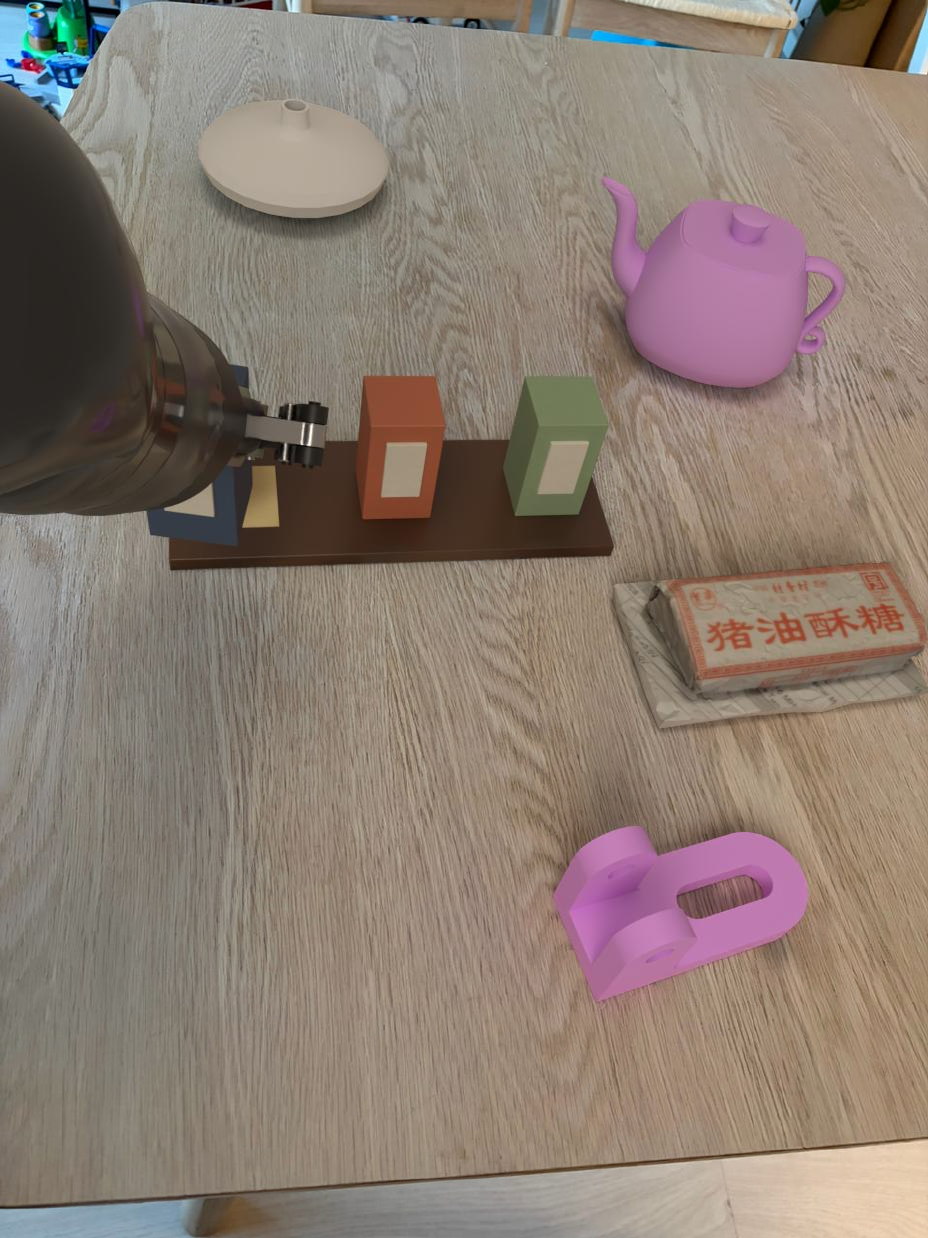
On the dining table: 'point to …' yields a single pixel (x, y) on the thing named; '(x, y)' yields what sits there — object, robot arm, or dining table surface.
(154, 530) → the navy box with label
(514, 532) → the brown board
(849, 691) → the packaged product
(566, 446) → the green block
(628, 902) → the bracket
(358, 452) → the orange block
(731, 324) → the teapot
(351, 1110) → the dining table surface
